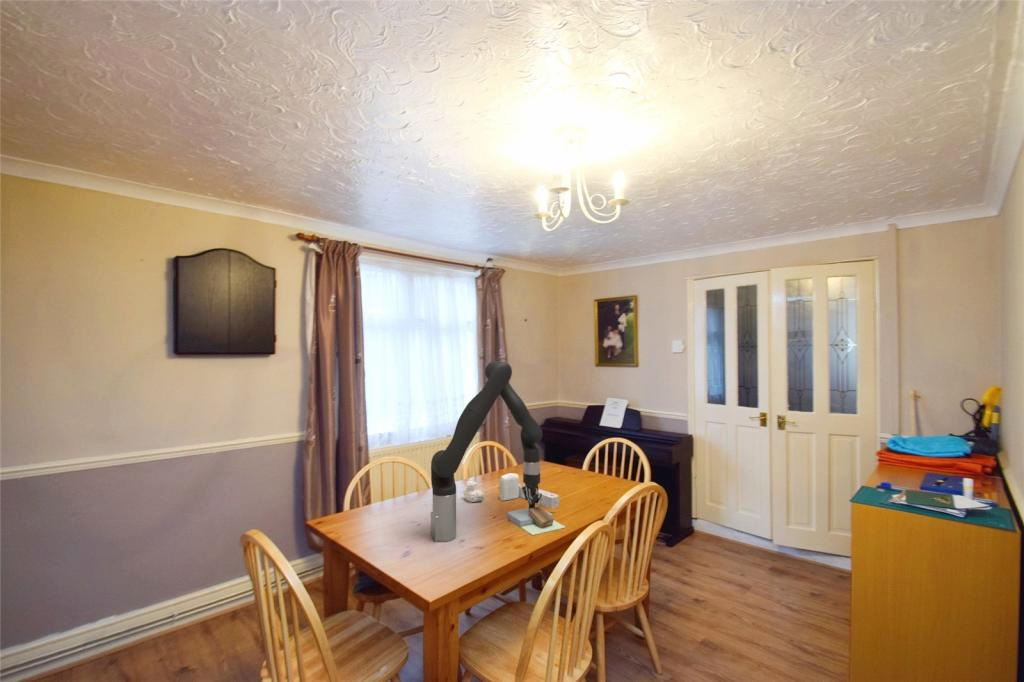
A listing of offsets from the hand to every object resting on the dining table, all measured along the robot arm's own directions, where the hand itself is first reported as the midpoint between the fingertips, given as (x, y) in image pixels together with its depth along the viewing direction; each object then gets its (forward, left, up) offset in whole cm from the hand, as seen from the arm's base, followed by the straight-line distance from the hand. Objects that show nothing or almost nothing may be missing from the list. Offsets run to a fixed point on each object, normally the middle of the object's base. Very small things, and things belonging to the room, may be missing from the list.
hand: (531, 512), depth 189 cm
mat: (0, -9, -4) cm, 10 cm away
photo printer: (+5, +30, -4) cm, 30 cm away
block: (+1, -6, -2) cm, 6 cm away
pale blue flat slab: (0, +2, -4) cm, 4 cm away
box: (+15, +22, -4) cm, 27 cm away
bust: (-12, +35, -4) cm, 38 cm away
